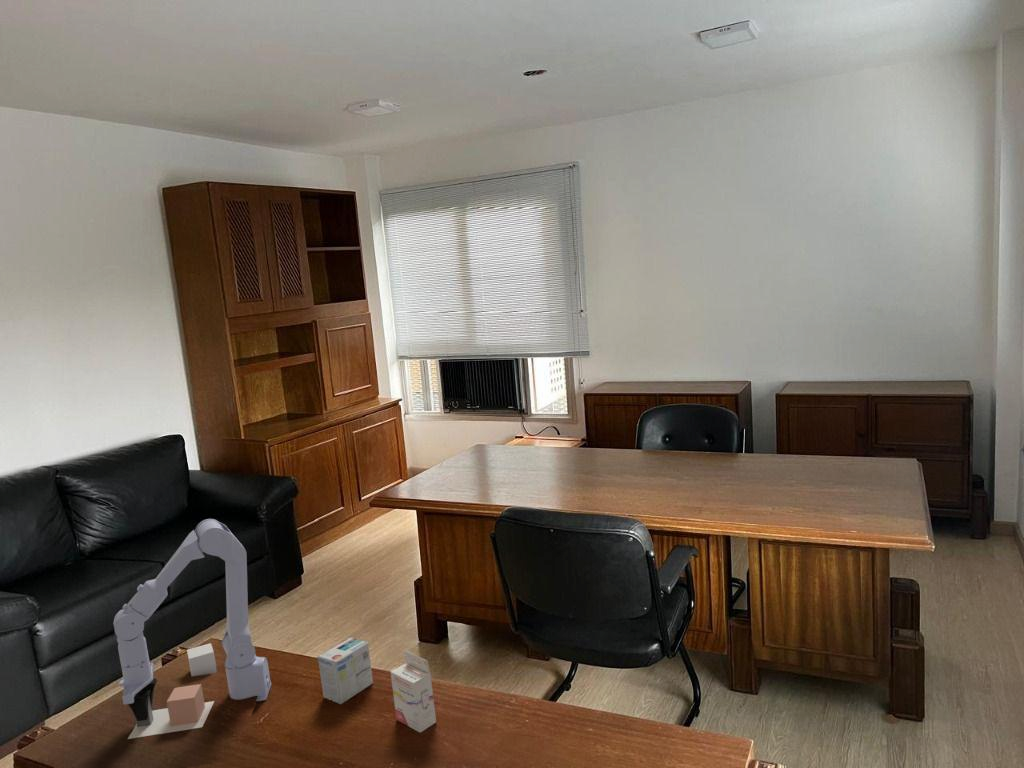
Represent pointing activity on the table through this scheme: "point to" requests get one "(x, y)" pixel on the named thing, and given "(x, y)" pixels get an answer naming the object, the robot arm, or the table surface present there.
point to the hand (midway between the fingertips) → (144, 716)
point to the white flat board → (164, 722)
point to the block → (186, 705)
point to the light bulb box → (345, 670)
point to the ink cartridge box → (413, 693)
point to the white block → (202, 660)
